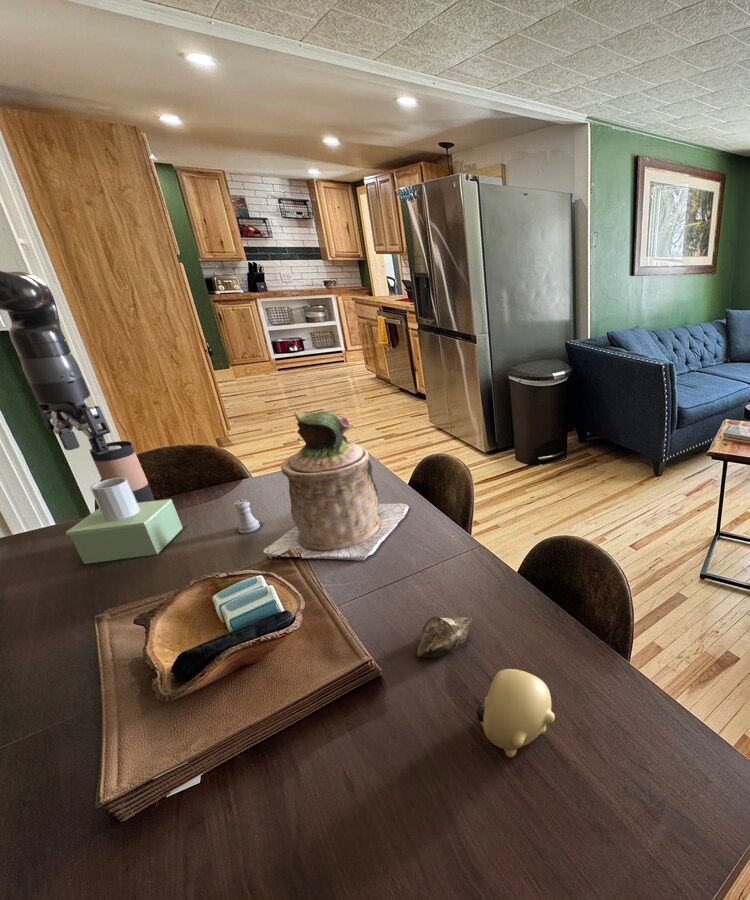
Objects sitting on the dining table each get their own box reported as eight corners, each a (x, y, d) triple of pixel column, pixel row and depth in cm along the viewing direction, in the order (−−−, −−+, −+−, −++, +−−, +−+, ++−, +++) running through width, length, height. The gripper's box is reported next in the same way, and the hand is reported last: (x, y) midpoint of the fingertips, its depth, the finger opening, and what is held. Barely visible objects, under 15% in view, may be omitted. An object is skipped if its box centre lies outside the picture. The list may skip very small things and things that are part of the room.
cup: (98, 522, 105) (83, 490, 102) (115, 509, 110) (101, 479, 107) (130, 519, 107) (116, 487, 104) (145, 506, 112) (132, 476, 109)
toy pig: (542, 727, 73) (514, 661, 76) (575, 722, 64) (541, 647, 67) (485, 768, 67) (456, 694, 70) (512, 767, 58) (478, 684, 61)
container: (84, 565, 105) (69, 535, 102) (117, 537, 115) (104, 509, 112) (157, 555, 108) (145, 526, 105) (183, 529, 119) (172, 501, 116)
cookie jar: (369, 563, 106) (339, 430, 94) (261, 561, 106) (217, 428, 94) (412, 508, 129) (392, 395, 116) (323, 507, 129) (294, 394, 117)
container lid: (66, 535, 102) (64, 532, 102) (101, 509, 112) (100, 506, 112) (145, 525, 105) (143, 522, 105) (172, 501, 116) (171, 498, 115)
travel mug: (113, 522, 122) (80, 450, 114) (145, 507, 129) (116, 439, 121) (135, 526, 120) (103, 453, 112) (167, 511, 127) (139, 442, 119)
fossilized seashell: (426, 666, 77) (482, 643, 83) (419, 624, 77) (475, 606, 84) (411, 662, 82) (465, 641, 89) (404, 623, 83) (458, 606, 90)
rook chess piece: (262, 523, 121) (254, 496, 118) (258, 532, 117) (249, 504, 114) (242, 526, 120) (232, 499, 117) (236, 535, 116) (227, 507, 113)
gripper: (5, 379, 94) (41, 454, 100) (57, 384, 91) (91, 461, 97) (53, 370, 100) (84, 441, 107) (103, 375, 97) (132, 448, 104)
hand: (87, 451), depth 102 cm, fingers open, 8 cm apart
